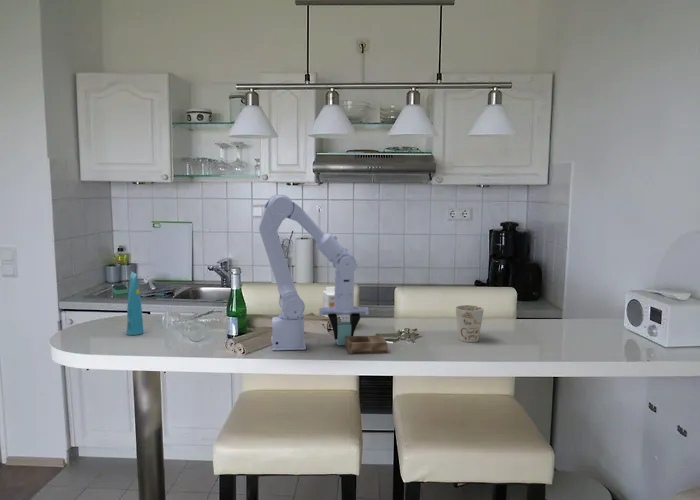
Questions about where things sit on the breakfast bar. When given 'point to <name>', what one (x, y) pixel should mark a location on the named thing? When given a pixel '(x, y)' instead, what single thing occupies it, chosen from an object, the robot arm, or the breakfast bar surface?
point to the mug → (469, 322)
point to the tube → (134, 308)
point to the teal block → (343, 332)
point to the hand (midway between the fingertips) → (343, 338)
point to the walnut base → (365, 344)
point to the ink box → (332, 302)
